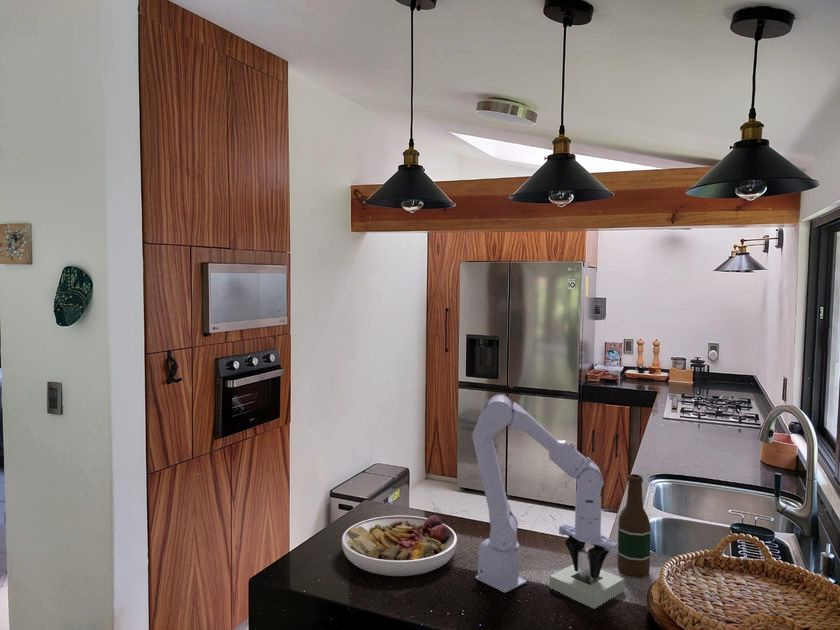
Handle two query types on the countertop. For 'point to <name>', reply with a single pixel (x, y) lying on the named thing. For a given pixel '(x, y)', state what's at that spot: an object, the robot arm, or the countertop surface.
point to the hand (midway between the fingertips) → (586, 573)
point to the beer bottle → (634, 533)
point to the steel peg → (584, 566)
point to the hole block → (587, 586)
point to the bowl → (399, 544)
